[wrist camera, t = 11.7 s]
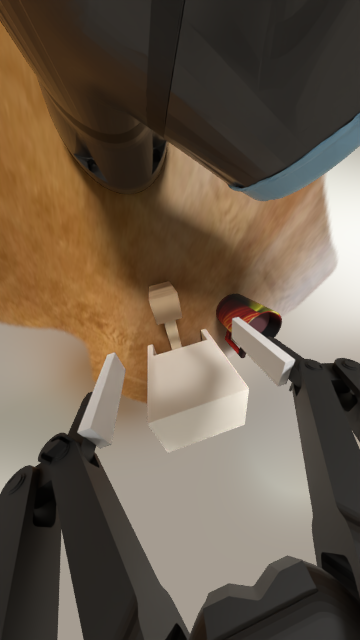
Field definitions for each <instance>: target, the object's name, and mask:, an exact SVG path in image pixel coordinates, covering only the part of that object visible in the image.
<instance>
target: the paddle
mask: <svg viewBox="0 0 360 640" xmlns="http://www.w3.org/2000/svg"><path fill="white" fill-rule="evenodd" d="M149 303H150V305H151V308H152V311H153V314H154V317H155V320H156V323H157V325H159V324H162V323H164V325H165V328H166V331H167V335H168V338H169V341H170V345H171V348H172V350H175V349H178V348H181V347H182V346H181V342H180V338H179V334H178V330H177V326H176V322H175V320H177V319H180V318H183V317H182V313H181V308H180V303H179V299H178V294H177V292H176V290H175V289H174V287H173V286H172V284H171V283H170V281H168V282H164V283H160V284H156V285H152V286H149Z"/></svg>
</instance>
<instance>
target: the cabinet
mask: <svg viewBox="0 0 360 640" xmlns="http://www.w3.org/2000/svg"><path fill="white" fill-rule="evenodd" d="M201 335H202V341H201V342H198V343H195V344H191V345H188V346H185V347H181V348H178V349H175V350H171V351H168V352H165V353H161V354H158V355H157V353H156V351H155V348H154V346H153V344H151V345H148V395H147V406H148V407H147V424H148V425H149V427H150V428H151V430H152V431H153V432H154V434H155V435H156V437H157V438H158V440H159V441H160V442H161V444H162V445H163V446H164V448H165V449H166V451H167V452H168V453H169V452H172V451H174V450H177V449H180V448H182V447H185V446H188V445H190V444H193V443H196V442H198V441H201V440H204V439H206V438H209V437H212V436H214V435H217V434H220V433H223V432H225V431H228V430H230V429H233V428H236V427H239V426H241V425H244V424H245V416H246V408H247V400H248V392H249V388H248V386H247V385H246V384H245V382H244V381H243V380H242V378H241V377H240V375H239V374H238V373H237V371H236V370H235V369H234V367H233V366H232V364H231V363H230V362H229V360H228V359H227V358H226V356H225V355H224V353H223V352H222V351H221V349H220V348H219V347H218V345H217V344H216V342H215V341H214V340H213V338H212V337H211V336H210V334H209V333H208V331H207V330H206V329H203V330H201Z"/></svg>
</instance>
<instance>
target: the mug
mask: <svg viewBox="0 0 360 640" xmlns="http://www.w3.org/2000/svg"><path fill="white" fill-rule="evenodd" d="M216 315H217V318H218V320H219V321H220V322H221V323H222V324H223V325H224V326H225V327H226V328H227V332H226V336H225V340H226V341H227V342H228V344H229V345H230V346H231V347H232V348H233V349H234V350H235V351H236V352H237V354H238V355H239V356H240V357H241V358H244V357H245V355H246V352H245V351H244V350H243V349H242V348H241V347H240V349H239V348H238V346H237V345H236V344H235V343H234V342H233V341H232V340H231V335H232V319H233V318H236V317H239V318H240V319H242V320H243V321H244V322H246V323H247V324H248V325H250V326H251V327H252V328H254V329H255V330H256V331H258V332H259V333H260V334H262V335H263V336H264V337H269V336H270V337H272V338H274V337H275V336H276V334H277V333H278V332H279V330H280V328H281V324H282V318H281V316H280V314H279V313H277V312H276V311H273V310H271V309H269V308H267V307H265V306H263V305H261V304H259V303H257V302H255V301H253V300H251V299H248V298H246V297H244V296H242V295H240V294H231V295H228V296H226V297H225V298H224V299H222V301H221V302H220V303H219V305H218V307H217V310H216Z"/></svg>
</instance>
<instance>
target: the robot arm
mask: <svg viewBox="0 0 360 640" xmlns="http://www.w3.org/2000/svg"><path fill="white" fill-rule="evenodd" d="M0 21H1V23H2V24H3V26H4V27H5V29H6V30H7V32H8V33H9V35H10V36H11V38H12V39H13V41H14V42H15V44H16V45H17V47H18V48H19V50H20V52H21V53H22V55H23V56H24V58H25V59H26V61H27V62H28V64H29V65H30V67H31V68H32V70H33V71H34V73H35V74H36V76H37V79H38V82H39V84H40V87H41V90H42V93H43V96H44V99H45V102H46V105H47V108H48V111H49V113H50V116H51V118H52V120H53V123H54V125H55V127H56V129H57V131H58V133H59V135H60V136H61V138H62V140H63V142H64V143H65V145H66V147H67V148H68V149H69V151H70V152H71V154H72V155H73V156H74V158H75V159H76V160H77V161H78V163H79V164H80V165H81V166H82V168H83V169H84V170H85V171H86V172H87V173H88V174H89V175H90V176H91V177H92V178H93V179H94V180H95V181H97V182H98V183H99V184H101V185H102V186H104V187H106V188H108V189H109V190H112V191H114V192H118V193H122V194H134V193H138V192H141V191H143V190H145V189H146V188H148V187H149V186H150V185H151V184H152V183H153V182H154V181H155V179H156V178H157V176H158V175H159V173H160V171H161V168H162V166H163V162H164V159H165V154H166V148H167V142H169V143H171V144H172V145H174V146H175V147H177V148H178V149H180V150H181V151H182V152H184V153H185V154H187V155H188V156H189V157H191V158H192V159H194V160H195V161H197V162H198V163H199V164H201V165H202V166H204V167H205V168H206V169H208V170H209V171H211V172H212V173H213V174H215V175H216V176H218V177H219V178H220V179H222V180H223V181H225V182H226V183H227V184H228V186H229V187H230V188H231V189H233V190H235V191H241V192H243V193H245V194H246V195H248V196H250V197H251V198H253V199H255V200H258V201H268V200H275V199H280V198H283V197H285V196H288V195H290V194H292V193H294V192H296V191H298V190H300V189H302V188H304V187H305V186H307V185H309V184H310V183H312V182H313V181H315V180H316V179H318V178H319V177H321V176H322V175H323V174H325V173H326V172H328V171H329V170H330V169H332V168H333V167H334V166H336V165H337V164H338V163H339V162H341V161H342V160H343V159H345V158H346V157H347V156H348V155H349V154H351V153H352V152H353V151H354V150H355V149H357V148H358V147H359V146H360V0H0ZM232 338H233V340H234V341H235V342H236V343H237V344H238V345H239V346H240V347H241V348H242V349H243V350H244V351H245V352H246V353H247V354H248V355H249V356H250V357H251V358H252V359H253V361H254V362H255V363H256V364H257V365H258V366H259V367H260V368H261V369H262V370H263V371H264V372H265V373H266V374H267V375H268V377H269V378H270V379H271V380H272V381H273V382H274V383H275V384H276V385H277V386H281V385H284V384H286V383H287V381H288V379H289V380H290V381H291V382H292V384H291V386H290V389H289V391H291V390H292V391H293V397H294V403H295V409H296V415H297V421H298V427H299V433H300V438H301V444H302V451H303V456H304V462H305V469H306V474H307V480H308V486H309V493H310V499H311V505H312V511H313V520H312V534H313V542H314V548H315V555H316V561H317V566H316V565H314V564H311V563H308V562H305V561H303V560H300V559H296V558H293V557H290V556H285V557H283V558H281V559H279V560H277V561H275V562H273V563H271V564H269V565H268V566H267V568H266V570H265V571H264V572H263V574H262V575H261V577H260V578H259V579H258V581H257V582H256V584H255V585H254V586H252V587H250V586H243V585H236V584H227V585H225V586H223V587H220V588H218V589H216V590H214V591H212V592H210V593H209V594H208V596H207V599H206V602H205V603H204V605H203V606H202V608H201V610H200V612H199V613H198V616H197V618H196V621H195V623H194V626H193V628H192V631H191V633H189V632H188V630H187V628H186V626H185V624H184V622H183V620H182V618H181V616H180V614H179V612H178V610H177V608H176V606H175V604H174V602H173V600H172V598H171V597H170V595H169V594H168V592H167V591H166V590H165V589H164V588H163V587H162V586H161V584H160V583H159V581H158V579H157V577H156V575H155V573H154V571H153V569H152V567H151V565H150V563H149V561H148V558H147V556H146V554H145V552H144V550H143V548H142V546H141V544H140V542H139V540H138V538H137V536H136V534H135V532H134V530H133V528H132V526H131V524H130V522H129V520H128V518H127V516H126V514H125V511H124V509H123V507H122V506H121V503H120V502H119V499H118V497H117V495H116V493H115V491H114V489H113V487H112V485H111V483H110V481H109V479H108V477H107V475H106V473H105V471H104V469H103V467H102V465H101V463H100V460H99V458H98V456H97V454H96V453H95V452H94V451H95V448H96V446H97V447H99V448H103V447H106V446H109V445H111V443H112V438H113V433H114V428H115V423H116V417H117V412H118V407H119V402H120V397H121V391H122V386H123V381H124V376H125V368H124V366H123V365H122V363H121V361H120V360H119V358H118V357H117V355H116V353H112V354H108V355H107V357H106V360H105V362H104V365H103V368H102V370H101V373H100V375H99V378H98V380H97V383H96V385H95V388H94V391H93V392H90V393H88V394H87V395H86V397H85V398H84V399H83V401H82V403H81V406H80V409H79V410H78V412H77V415H76V417H75V419H74V422H73V424H72V426H71V428H70V431H69V433H68V435H67V434H65V433H59V434H57V435H55V436H54V437H52V438H51V439H50V440H49V441H48V442H47V443H46V444H45V446H44V447H43V448H42V450H41V452H40V454H39V457H38V461H39V462H41V463H40V464H39V465H37V466H36V467H33V466H30V465H29V466H25V467H23V468H22V469H20V470H19V471H18V472H16V473H15V474H14V475H13V476H12V478H11V479H10V480H9V481H8V482H7V484H6V485H5V487H4V488H3V490H2V492H1V494H0V640H57V633H58V606H59V578H60V577H59V576H60V550H61V529H62V534H63V539H64V544H65V549H66V554H67V558H68V564H69V569H70V574H71V579H72V584H73V588H74V593H75V598H76V603H77V608H78V613H79V618H80V623H81V628H82V633H83V638H84V640H360V449H359V447H358V444H357V442H356V440H355V437H354V435H353V433H354V434H355V436H356V437H357V439H358V440H359V442H360V364H359V363H358V362H355V361H353V360H350V359H345V358H338V359H336V360H335V362H334V363H324V364H323V363H322V364H321V363H319V362H317V361H314V360H311V359H304V358H302V357H301V356H300V355H298V354H297V353H295V352H294V351H292V350H291V349H290V348H288V347H286V346H285V345H284V344H282V343H281V342H280V341H278V340H277V339H275V338H272V337H270V336H269V337H264V336H263V335H262V334H260V333H259V332H258V331H256V330H255V329H254V328H252V327H251V326H250V325H248V324H247V323H246V322H244V321H243V320H242V319H240V318H239V317H236V318H233V319H232ZM352 431H353V432H352Z"/></svg>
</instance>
